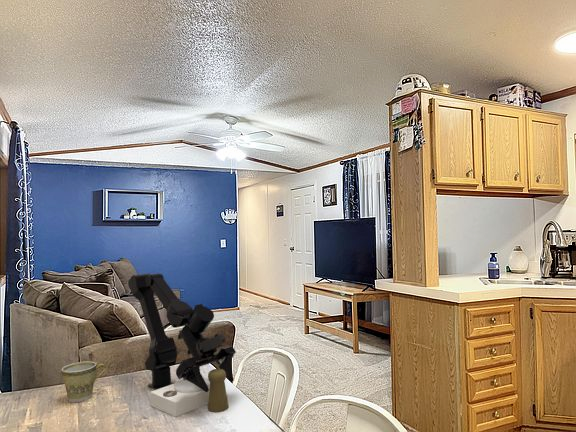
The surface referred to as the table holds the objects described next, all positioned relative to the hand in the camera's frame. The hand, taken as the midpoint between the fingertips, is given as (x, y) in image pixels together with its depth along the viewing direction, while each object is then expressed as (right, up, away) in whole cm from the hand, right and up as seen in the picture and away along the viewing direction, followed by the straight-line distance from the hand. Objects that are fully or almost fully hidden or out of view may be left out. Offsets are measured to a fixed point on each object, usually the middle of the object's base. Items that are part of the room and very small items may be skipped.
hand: (220, 386), depth 126 cm
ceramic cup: (-45, -9, +13) cm, 48 cm away
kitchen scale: (-11, -7, +6) cm, 15 cm away
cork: (-1, -7, +1) cm, 7 cm away
